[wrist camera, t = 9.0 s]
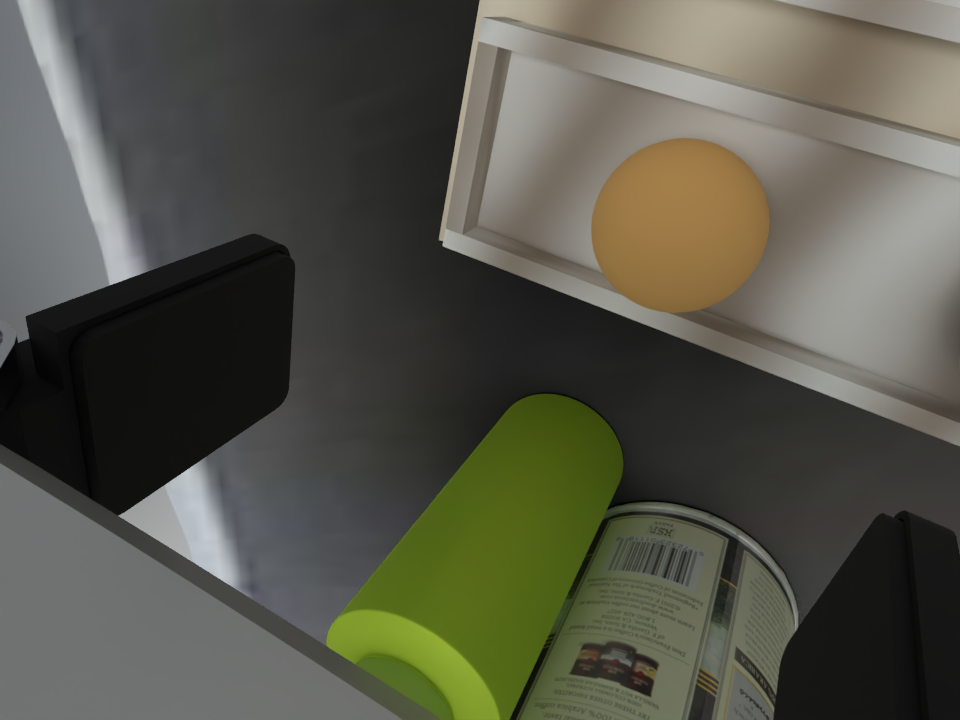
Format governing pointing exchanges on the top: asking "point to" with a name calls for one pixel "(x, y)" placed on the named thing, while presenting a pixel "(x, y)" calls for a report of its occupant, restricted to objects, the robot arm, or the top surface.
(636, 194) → the orange ball
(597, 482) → the soap dispenser
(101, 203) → the top surface
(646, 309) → the trough board
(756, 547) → the coffee can
